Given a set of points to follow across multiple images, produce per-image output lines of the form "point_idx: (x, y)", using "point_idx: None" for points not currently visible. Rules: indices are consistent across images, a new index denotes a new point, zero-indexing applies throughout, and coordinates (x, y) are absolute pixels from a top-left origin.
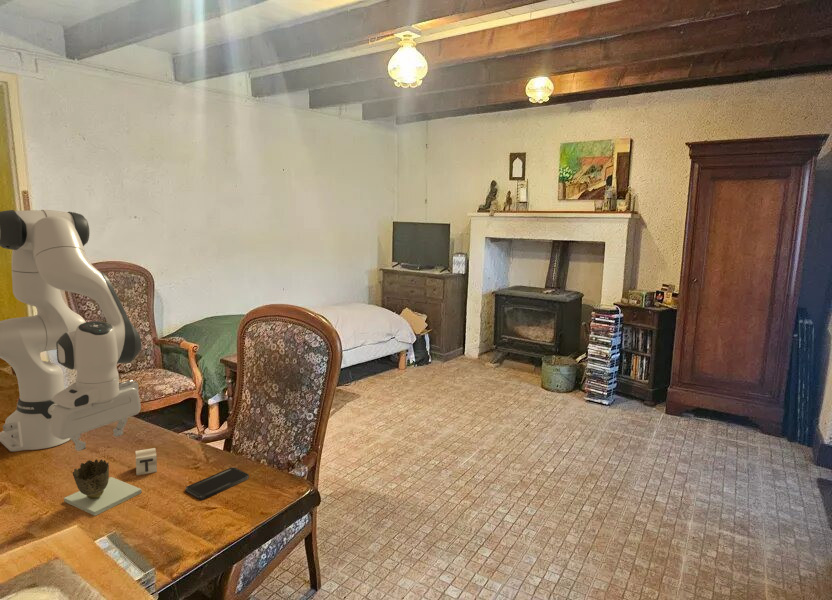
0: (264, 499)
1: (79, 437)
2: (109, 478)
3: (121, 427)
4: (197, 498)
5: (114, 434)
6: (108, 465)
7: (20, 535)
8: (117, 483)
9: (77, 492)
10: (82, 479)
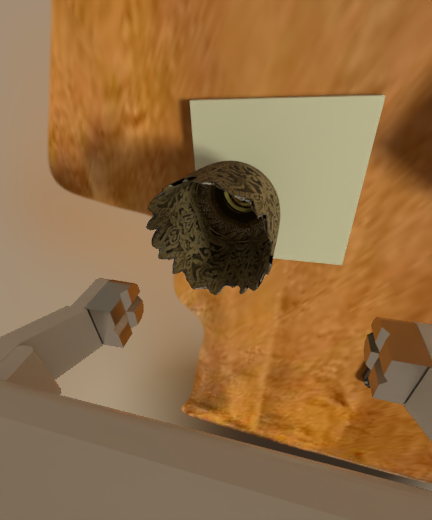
0: (405, 451)
1: (53, 390)
2: (369, 102)
3: (419, 423)
4: (365, 371)
5: (374, 331)
6: (253, 290)
7: (71, 172)
8: (345, 171)
9: (233, 104)
10: (162, 258)
